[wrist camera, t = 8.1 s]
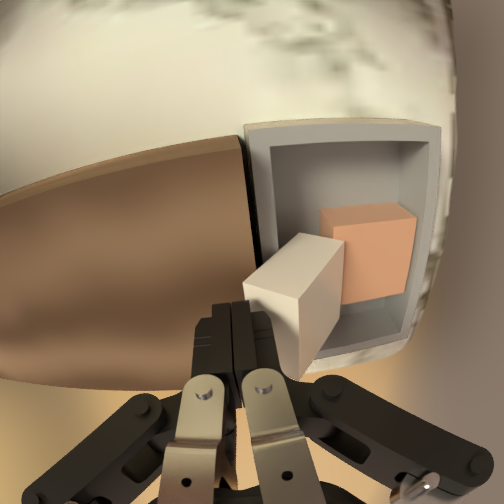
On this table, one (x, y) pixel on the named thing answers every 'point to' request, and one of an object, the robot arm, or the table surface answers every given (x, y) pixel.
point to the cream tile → (299, 297)
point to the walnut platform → (122, 266)
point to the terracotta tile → (371, 248)
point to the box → (346, 200)
